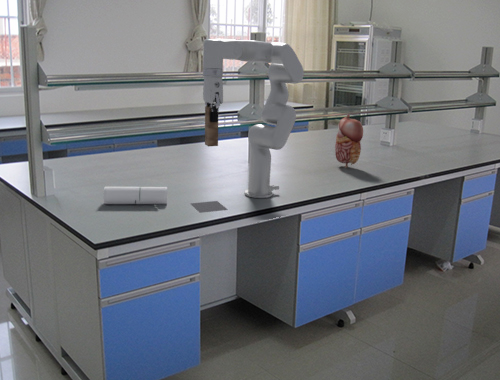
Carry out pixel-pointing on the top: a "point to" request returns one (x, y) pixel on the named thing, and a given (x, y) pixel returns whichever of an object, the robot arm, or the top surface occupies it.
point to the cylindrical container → (135, 195)
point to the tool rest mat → (208, 206)
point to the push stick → (210, 129)
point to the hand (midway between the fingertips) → (211, 120)
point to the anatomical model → (348, 140)
